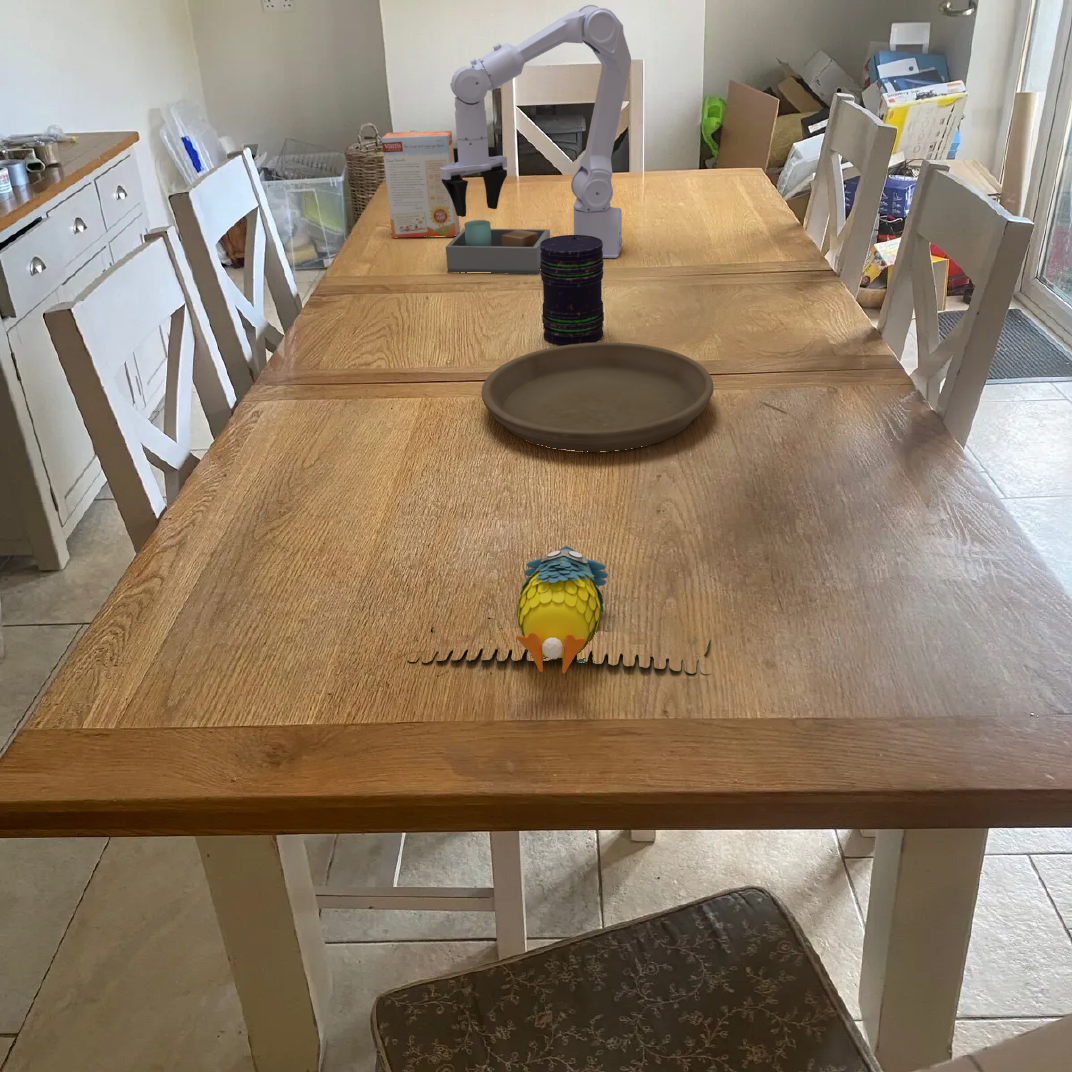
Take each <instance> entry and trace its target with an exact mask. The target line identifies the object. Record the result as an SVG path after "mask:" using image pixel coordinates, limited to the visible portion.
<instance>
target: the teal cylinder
mask: <svg viewBox="0 0 1072 1072" xmlns="http://www.w3.org/2000/svg"><path fill="white" fill-rule="evenodd" d="M463 225H464V228H465V240H466V246H492V243H491V229H492V228H491V222H490V221H489V220H486V219H485V220H484V219H477V220H476V219H474V220H469V221H466V222H464V224H463Z"/></svg>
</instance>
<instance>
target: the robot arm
mask: <svg viewBox="0 0 1072 1072" xmlns="http://www.w3.org/2000/svg"><path fill="white" fill-rule="evenodd" d="M624 31H625V30H624V24H623V23H622V22H621V21H620V19H619V18H618V16H617V15H616V14H615V13H614V12H613V11H612V10H611V9H608V8H605V7H599V6H597V5H594V4H586V5H584V6H582V7H580V8H579V9H578V10H574V11H571V12H568V13H567V14H565V15H563V16H562V17H561V16H560V17H559V18H558V19H556V20H555V21H553V22H552V23H550V24H548V25H547V26H544V28H542V29H541V30H539V31H538V32H536V33H535V34H533V35H532V36H530V37H528V38H527V39H525V40H523V41H522V42H521V43H519V44H518V45H512V44H510V43H507V42H506V43H504V44H502V45H501V44H500V43H499V42H498V43H496V44H494V45H493V46H492V48H493V50H491V51H490V52H489V53H487V54H485V55H483V56H482V57H480V58H478V59H476V58H475V57H474V58H472V59H471V60H470V64H471V65H470V66H469V65H468V66H467V65H466V66H465V65H464V66H460V67H459V68H457V70H455V71H454V72H453V73H454V74H452V77H451V82H450V83H449V84H450V89H451V91H452V93H453V95H454V96H455V97H454V108H455V111H454V117H455V132H456V143H457V144H456V145H457V158H458V159H457V162H454V164H451V165H449V166H446V167H442V168H440V177H441V179H442V183H443V184H444V186H445V187H446V189H447V191H448V193H449V195H450V197H451V199H452V202H453V205H454V208H455V211H456V214H457V216H459V217H461V218H464V217H467V199H466V198H467V190H468V185H469V181H468V180H466V179H463V177H462V176H468V175H471V174H477V173H481V176H482V180H483V183H484V187H485V197H486V205H487V209H491V210H497V209H498V205H499V199H500V195H501V191H502V187H503V184H504V183H505V182H504V181H505V180H506V178H507V176H508V170H507V169H505V168H508V158H507V156H505V155H496V156H489V143H488V142H489V141H488V140H489V138H488V124H487V110H486V107H485V97H486V96H487V94H488V91H490V92H491V91H494V90H496V89H497V88H499V87H501V86H503V85H505V84H506V83H508V82H510V81H511V80H513V79H514V78H516V77H518V76H520V75H521V74H522V72H523V69H524V66H525V64H526V63H527V62H529V61H531V60H534V59H535V58H537V57H538V56H541V55H543V54H544V53H546V52H548V51H551V50H552V49H554V48H556V47H559V46H560V45H562V44H565V43H569V44H570V43H571V44H584V45H587V47H589V48H590V49H591V50H592V52H593V54H594V55H595V57H596V58H597V59H598V61H599V63H600V64H601V70H600V75H599V81H598V85H597V91H596V96H595V99H594V101H595V102H594V106H593V109H592V110H593V111H592V115H591V121H590V125H589V131H588V135H587V136H588V137H587V140H586V141H587V142H586V146H585V152H584V153H583V155H582V157H581V159H580V161H579V165H578V168H577V170H576V171H575V173H574V174H573V176H572V178H571V182H570V189H571V192H572V194H573V195H574V197H576V199H575V202H574V203H573V204H572V205H573V235H587V236H593V237H597V238H599V239H601V240H602V242H603V248H602V251H603V259H605V258H606V259H607V258H608V259H611V258H612V259H616V258H618V257H619V254H620V253H621V250H622V248H623V237H622V233H623V232H622V231H623V230H622V229H623V226H622V223H623V222H622V221H623V218H622V214H623V213H622V208H619V207H613V206H611V201H612V199H613V195H614V189H613V185H612V176H613V168H612V155H613V151H614V146H615V141H616V136H617V131H618V128H619V127H618V126H619V122H620V116H621V114H622V107H623V103H624V98H625V93H626V89H627V83H628V79H629V78H628V77H629V74H630V69H631V64H632V58H631V57H632V56H631V53H630V49H629V46H628V43H627V39H626V37H625V33H624Z"/></svg>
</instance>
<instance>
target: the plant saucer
mask: <svg viewBox="0 0 1072 1072" xmlns="http://www.w3.org/2000/svg"><path fill="white" fill-rule="evenodd" d="M714 388H715V387H714V381H713V378H712V376H711V374H710V372H708V371H707V369H706V368H705V367H704V366H703V365H701V364H700V363H699V362H697V361H696V360H694V359H692V358H690V357H688V356H687V355H684V354H682V353H679V352H676V351H673V350H671V349H667V348H664V347H658V346H653V345H648V344H647V345H646V344H640V343H629V342H611V341H610V342H609V341H608V342H601V341H598V342H595V343H582V344H571V345H564V346H558V345H557V346H553V347H548V348H544V349H540V350H536V351H533V352H529V353H527V354H523V355H521V356H518V357H516V358H514V359H512V360H509V361H508V362H505V363H504V364H502V365H501V366H499V367H498V368H496V369H495V370H493V371H492V372H491V373H490V374H489V376H487V377H486V379H485V380H484V382H483V384H482V387H481V399H482V402H483V404H484V406H485V408H486V410H487V411H488V412H489V413H490V414H491V416H492V418H494V419H495V421H496V422H498V423H499V424H500V425H503V426H504V427H505V428H506V429H507V430H508V431H509V432H510V433H511V432H512V433H511V434H512V435H514V436H515V435H516V436H515V437H517V436H518V437H517V438H519V437H520V438H519V439H521V438H522V439H521V440H523V439H524V440H523V441H525V440H527V441H529V442H528V443H530V442H532V443H534V444H533V445H535V444H539V445H543V446H547V447H550V448H556V449H566V450H575V451H583V452H587V451H588V452H600V451H615V450H625V449H631V448H637V447H641V446H645V447H647V446H646V445H649V446H652V445H651V444H653V445H655V443H656V444H658V443H661V442H663V441H666V440H668V439H670V438H672V437H674V436H676V435H677V434H679V433H681V432H682V431H684V430H685V429H686V428H687V427H688V426H689V425H690V424H691V423H692V421H693V420H694V419H695V418H697V417H698V416H699V415H701V413H702V412H703V411H704V410H705V408H706V407H707V405H708V404H709V403H710V400H711V399H712V396H713V393H714ZM527 441H526V442H527ZM532 443H531V444H532ZM550 448H549V449H550ZM641 448H642V447H641ZM637 449H638V448H637Z"/></svg>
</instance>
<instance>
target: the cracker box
mask: <svg viewBox="0 0 1072 1072" xmlns="http://www.w3.org/2000/svg"><path fill="white" fill-rule="evenodd" d="M380 140H381V145H382V146H381V147H382V156H383V165H384V173H385V174H384V175H385V176H384V177H385V183H386V192H387V203H388V210H389V218H390V220H389V221H390V229H391V236H392V239H396V238H395V237H424V236H425V237H426V236H427V237H426V238H429V237H428V236H455V235H456V236H457V235H458V234H459V233H460V231H461V227H460V226H461V225H460V216H457V214H456V211H455V208H454V205H453V202H452V199H451V197H450V195H449V193H448V191H447V189H446V187H445V186H444V184H443V183H442V179H441V177H440V168H442V167H446V166H449V165H451V164H454V163H455V154H454V143H453V142H454V141H453V140H454V139H453V132H452V130H438V131H437V130H436V131H430V130H429V131H405V132H404V131H401V132H387V133H386V134H385V135H384V136H382V137H381V139H380ZM459 230H460V231H459Z"/></svg>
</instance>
